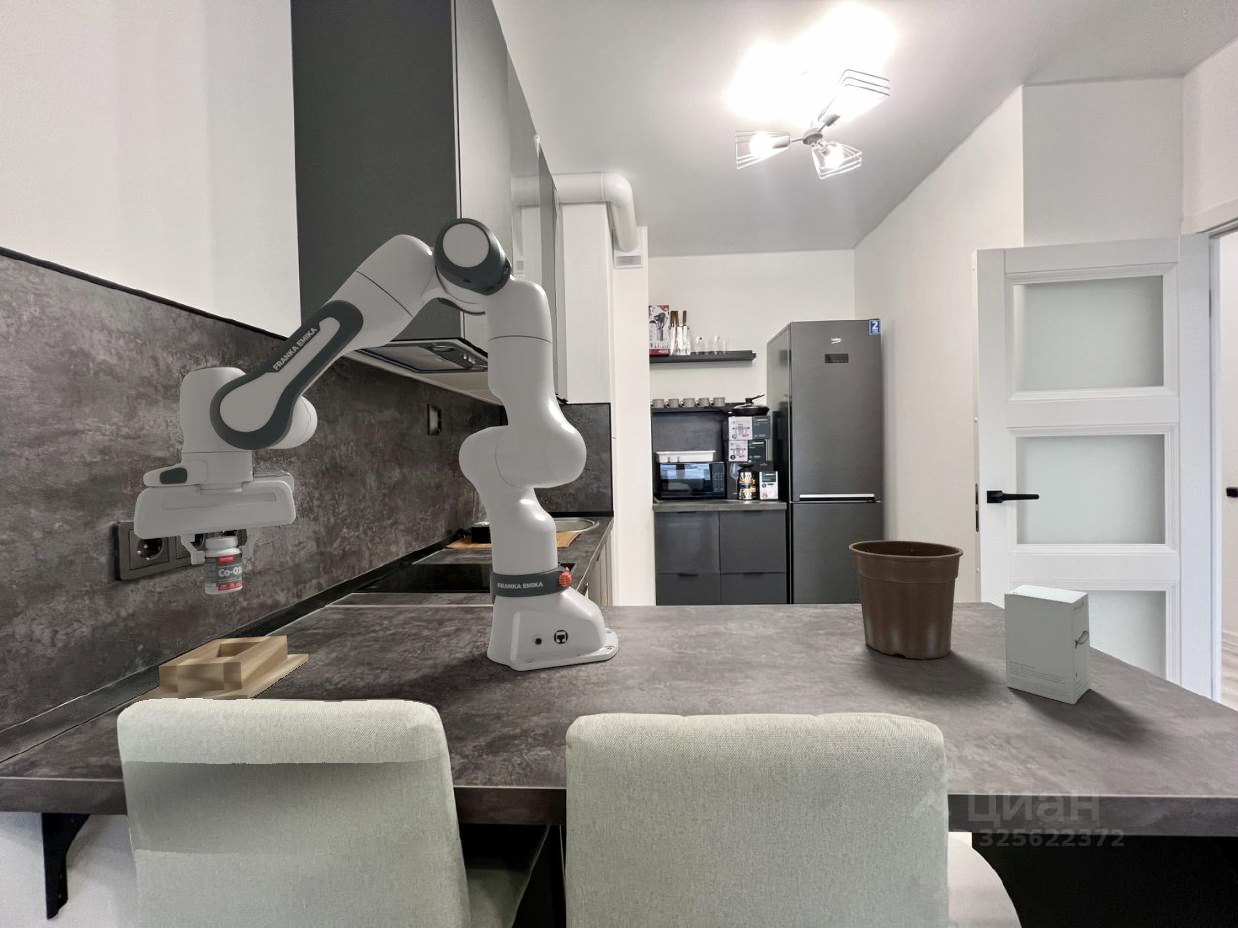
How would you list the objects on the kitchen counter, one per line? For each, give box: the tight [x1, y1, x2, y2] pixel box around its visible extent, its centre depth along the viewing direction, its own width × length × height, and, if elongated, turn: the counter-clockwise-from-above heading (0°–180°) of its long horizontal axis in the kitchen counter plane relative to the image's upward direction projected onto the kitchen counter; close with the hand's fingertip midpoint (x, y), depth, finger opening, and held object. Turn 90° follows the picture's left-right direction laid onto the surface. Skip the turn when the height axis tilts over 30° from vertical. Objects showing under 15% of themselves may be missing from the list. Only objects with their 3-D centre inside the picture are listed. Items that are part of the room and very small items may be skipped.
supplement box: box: [1003, 584, 1092, 705], centre depth 70 cm, size 7×7×13 cm
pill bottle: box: [203, 535, 243, 595], centre depth 84 cm, size 5×5×8 cm
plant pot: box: [848, 540, 964, 660], centre depth 87 cm, size 16×16×16 cm
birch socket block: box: [131, 635, 309, 705], centre depth 84 cm, size 16×16×5 cm
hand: (222, 560), depth 84 cm, fingers closed on pill bottle, 5 cm apart
